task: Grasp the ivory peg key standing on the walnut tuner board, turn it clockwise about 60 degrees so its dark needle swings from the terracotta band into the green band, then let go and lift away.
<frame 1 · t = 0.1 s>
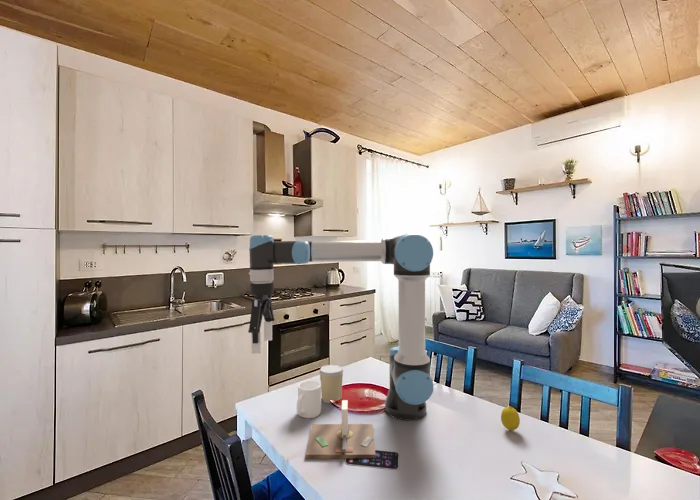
hand: (262, 346, 109), 28 cm above the table, fingers open, 13 cm apart
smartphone: (372, 460, 95), on the table
lemon: (510, 431, 108), on the table
peg: (344, 424, 101), point 6 cm above the table, hinge at 0.0°
tuner board: (341, 442, 102), on the table
coffee cup: (331, 399, 132), on the table
mug: (307, 416, 119), on the table
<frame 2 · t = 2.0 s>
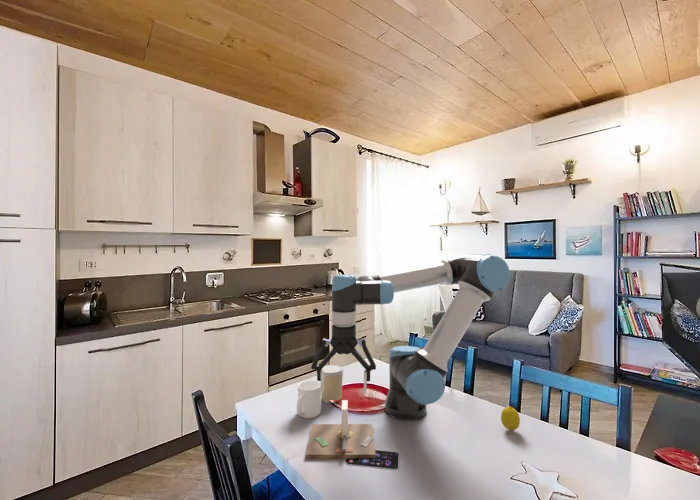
hand: (343, 391, 104), 15 cm above the table, fingers open, 13 cm apart
nothing on the table moved.
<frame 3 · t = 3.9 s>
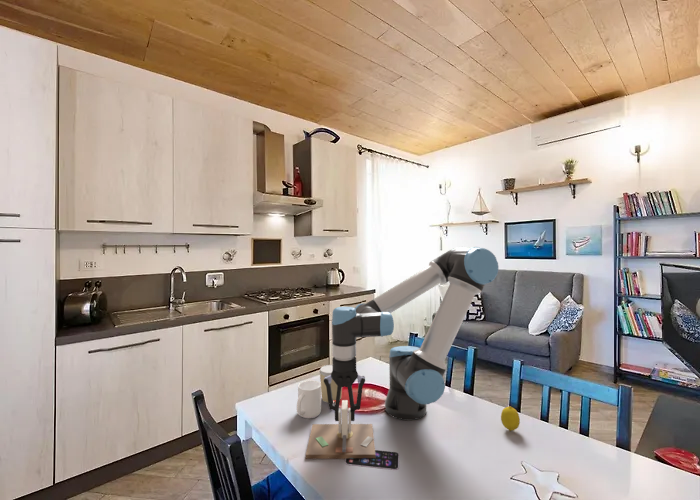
hand: (344, 430, 104), 3 cm above the table, fingers closed on peg, 2 cm apart
peg: (344, 424, 101), point 6 cm above the table, hinge at 0.0°, touching gripper
everything else where it was.
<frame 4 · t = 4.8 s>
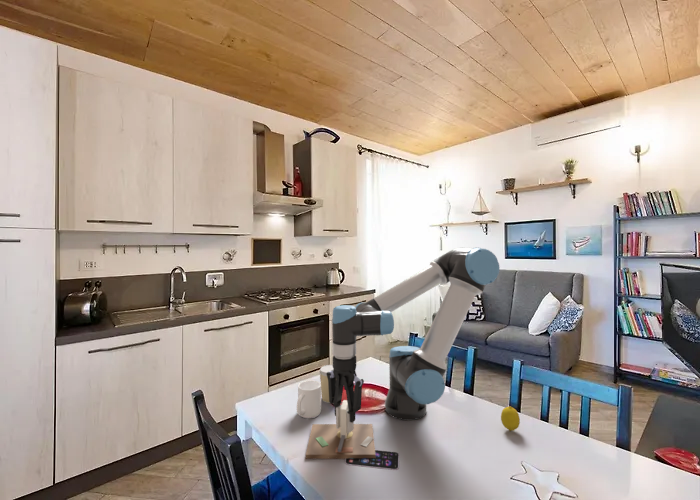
hand: (344, 428, 104), 3 cm above the table, fingers closed on peg, 3 cm apart
peg: (342, 424, 101), point 6 cm above the table, hinge at -7.7°, touching gripper
everything else where it was.
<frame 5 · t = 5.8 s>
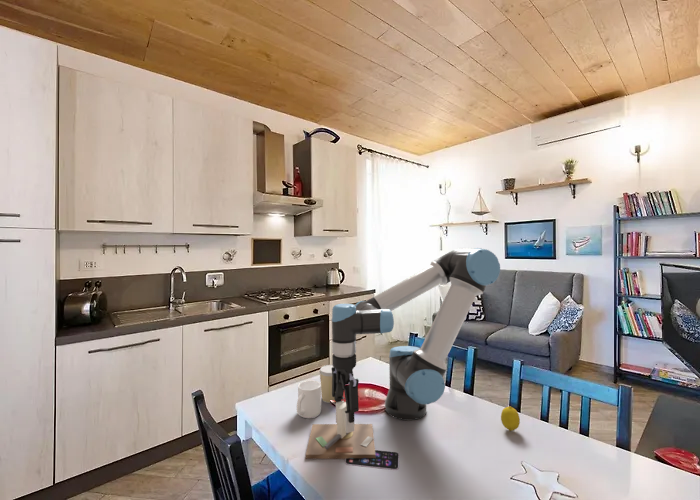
hand: (344, 426, 104), 4 cm above the table, fingers open, 6 cm apart
peg: (338, 423, 101), point 6 cm above the table, hinge at -32.0°
everything else where it was.
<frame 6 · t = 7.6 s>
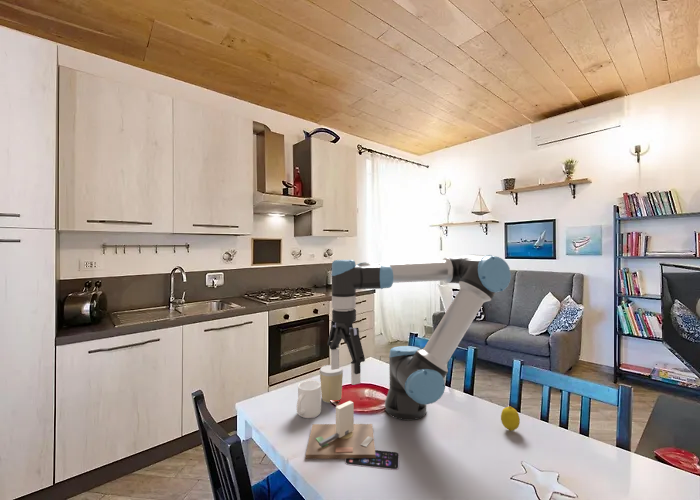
hand: (345, 375, 104), 20 cm above the table, fingers open, 13 cm apart
peg: (336, 422, 102), point 6 cm above the table, hinge at -46.3°
everything else where it was.
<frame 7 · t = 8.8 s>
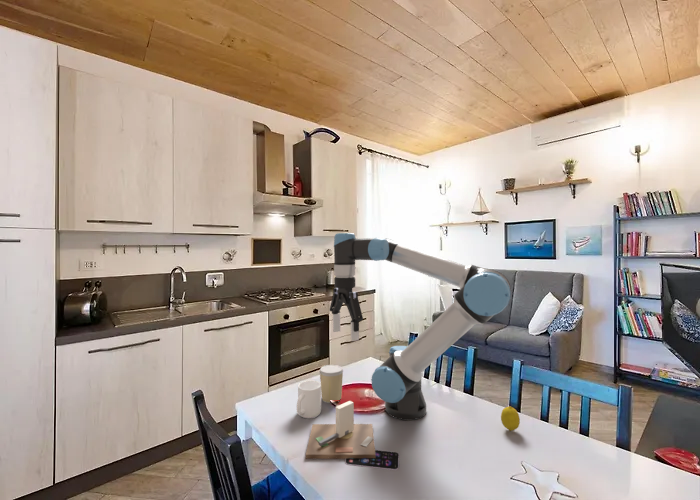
hand: (345, 335, 118), 29 cm above the table, fingers open, 13 cm apart
peg: (336, 422, 102), point 6 cm above the table, hinge at -47.3°
everything else where it was.
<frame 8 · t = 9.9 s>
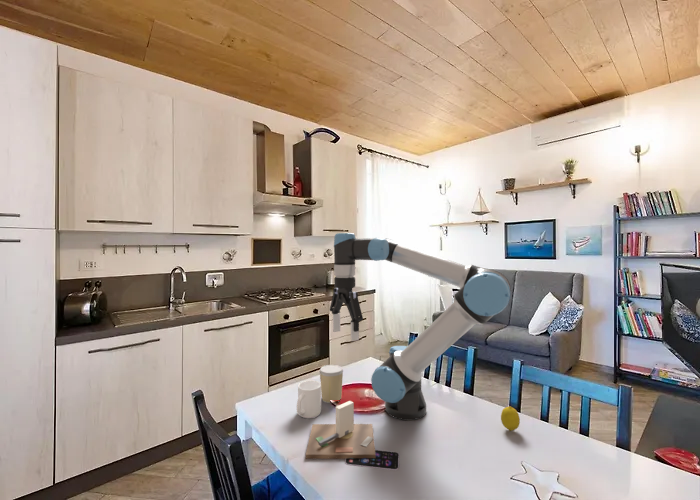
hand: (345, 335, 118), 29 cm above the table, fingers open, 13 cm apart
nothing on the table moved.
at the end: peg at -48° (first picture: +0°); the gripper is holding nothing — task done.
